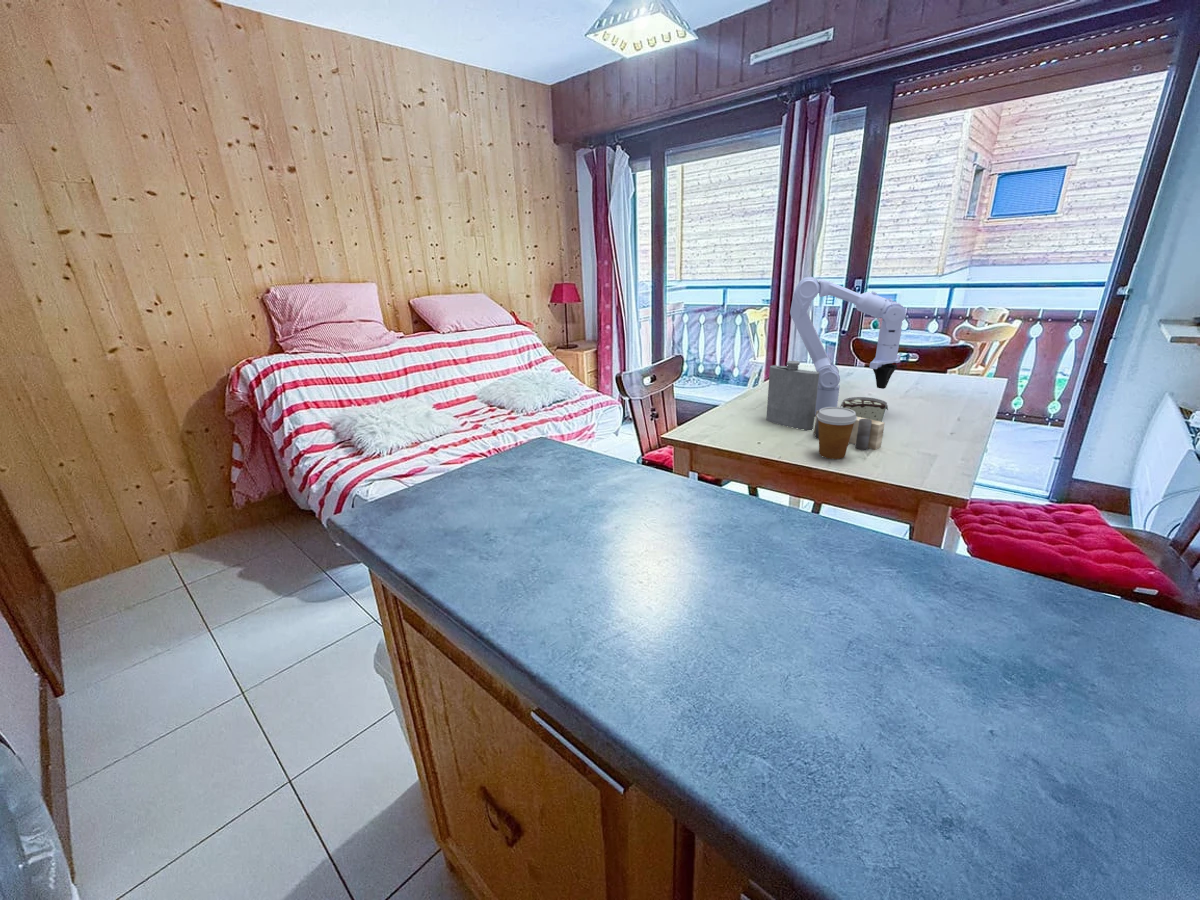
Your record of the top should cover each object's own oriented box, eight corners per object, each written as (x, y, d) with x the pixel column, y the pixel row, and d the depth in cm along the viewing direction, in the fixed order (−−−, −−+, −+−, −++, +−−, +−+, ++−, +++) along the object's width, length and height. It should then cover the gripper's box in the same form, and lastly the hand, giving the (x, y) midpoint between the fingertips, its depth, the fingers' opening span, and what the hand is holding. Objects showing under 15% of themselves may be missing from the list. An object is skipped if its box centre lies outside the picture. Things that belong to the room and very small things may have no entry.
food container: (879, 429, 149) (884, 396, 145) (883, 436, 143) (889, 402, 140) (833, 427, 152) (837, 395, 148) (836, 434, 147) (840, 401, 143)
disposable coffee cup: (832, 464, 128) (838, 420, 123) (804, 452, 136) (809, 410, 131) (860, 457, 131) (866, 413, 127) (831, 445, 139) (836, 404, 135)
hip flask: (815, 428, 152) (822, 363, 145) (807, 432, 150) (814, 366, 143) (770, 417, 164) (774, 357, 157) (762, 420, 162) (766, 359, 154)
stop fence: (808, 436, 147) (810, 410, 144) (819, 431, 150) (822, 405, 147) (869, 452, 133) (874, 424, 130) (880, 446, 136) (885, 419, 133)
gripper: (889, 349, 144) (882, 394, 149) (913, 341, 151) (905, 385, 157) (865, 346, 149) (859, 390, 154) (889, 339, 157) (883, 381, 162)
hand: (881, 387), depth 156 cm, fingers closed
